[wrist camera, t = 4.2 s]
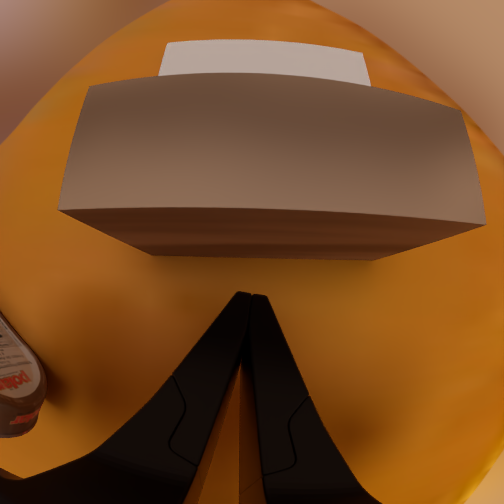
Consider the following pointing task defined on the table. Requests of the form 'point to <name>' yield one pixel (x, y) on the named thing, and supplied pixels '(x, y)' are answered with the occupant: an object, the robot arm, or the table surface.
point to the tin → (18, 384)
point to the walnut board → (269, 167)
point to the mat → (264, 59)
